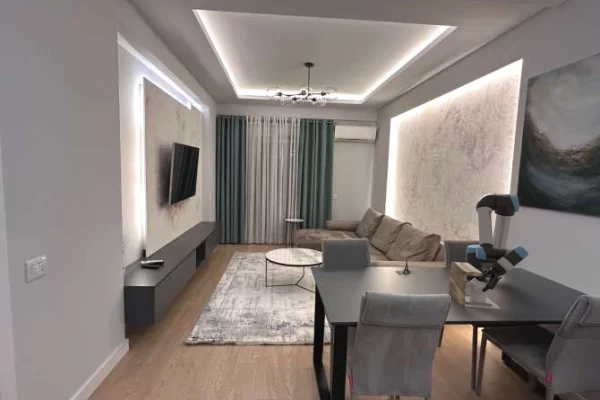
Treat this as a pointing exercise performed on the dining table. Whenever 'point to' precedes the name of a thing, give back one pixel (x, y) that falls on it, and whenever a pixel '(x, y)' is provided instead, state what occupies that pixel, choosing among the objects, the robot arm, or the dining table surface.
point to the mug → (474, 288)
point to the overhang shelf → (460, 280)
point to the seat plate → (488, 303)
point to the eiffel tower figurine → (406, 271)
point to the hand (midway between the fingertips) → (472, 290)
